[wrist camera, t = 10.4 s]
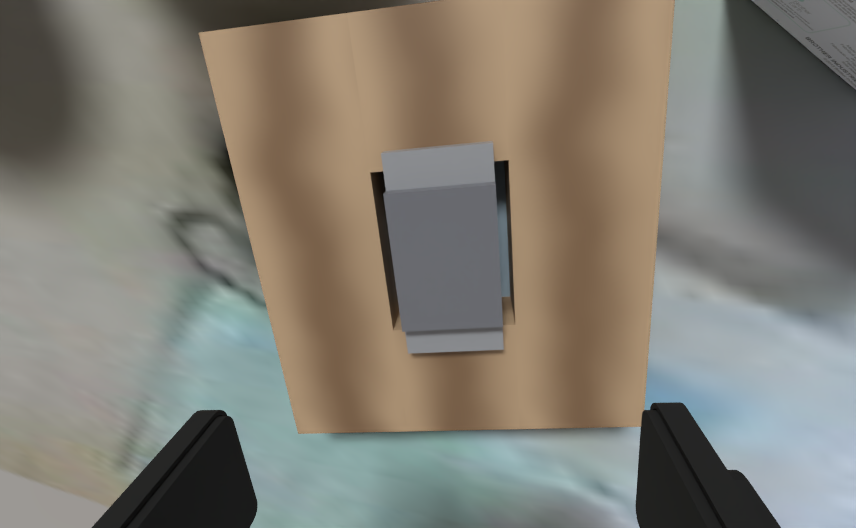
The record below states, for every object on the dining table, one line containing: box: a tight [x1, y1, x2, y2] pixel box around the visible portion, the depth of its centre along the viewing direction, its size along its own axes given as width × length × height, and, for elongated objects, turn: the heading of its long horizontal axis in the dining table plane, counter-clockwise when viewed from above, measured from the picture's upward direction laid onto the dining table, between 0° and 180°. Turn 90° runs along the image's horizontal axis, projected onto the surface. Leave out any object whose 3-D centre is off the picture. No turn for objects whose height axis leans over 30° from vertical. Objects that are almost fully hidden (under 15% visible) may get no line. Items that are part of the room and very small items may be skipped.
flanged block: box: [381, 141, 504, 354], centre depth 24 cm, size 5×10×5 cm, turn 6°
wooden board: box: [199, 0, 675, 434], centre depth 25 cm, size 20×22×4 cm
